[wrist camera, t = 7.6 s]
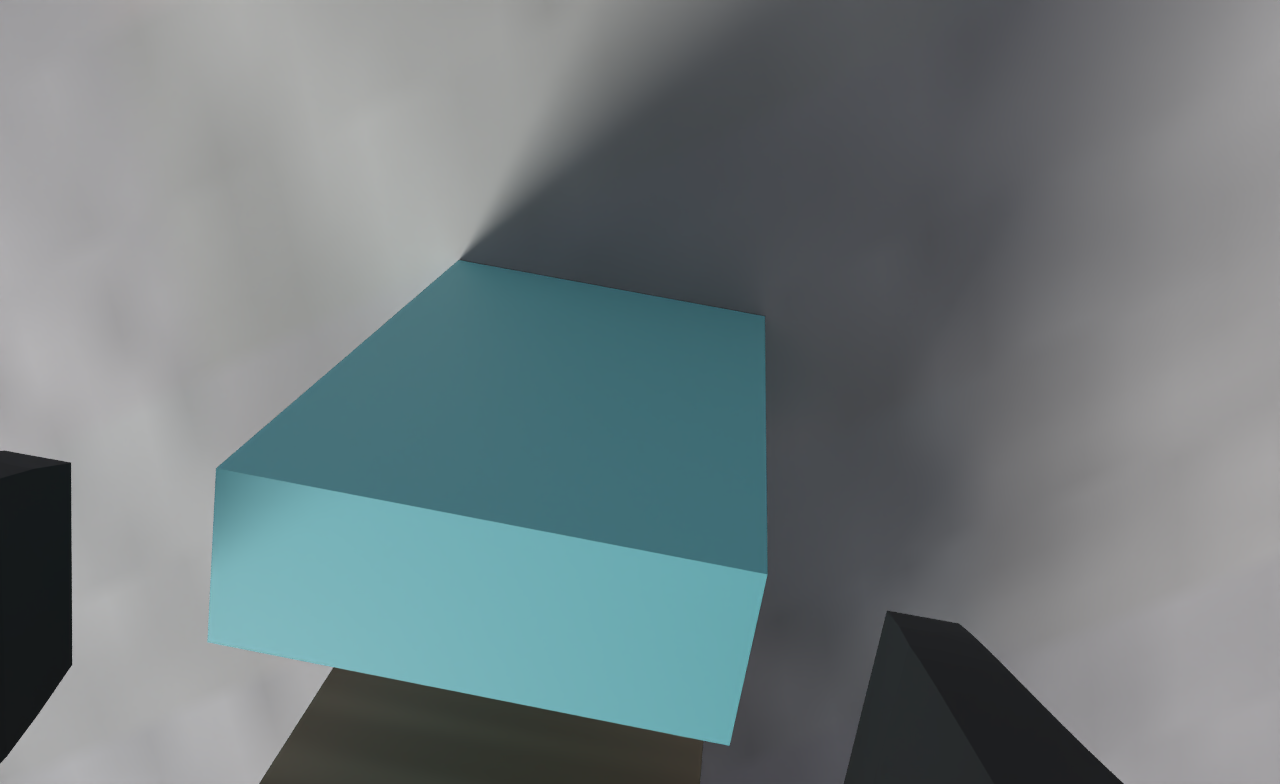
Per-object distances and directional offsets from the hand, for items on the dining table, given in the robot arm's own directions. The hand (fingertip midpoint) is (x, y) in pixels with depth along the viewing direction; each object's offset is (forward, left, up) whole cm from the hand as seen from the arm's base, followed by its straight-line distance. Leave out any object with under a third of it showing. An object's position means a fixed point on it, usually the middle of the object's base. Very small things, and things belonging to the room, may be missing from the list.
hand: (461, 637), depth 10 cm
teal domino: (0, 0, -10) cm, 10 cm away
